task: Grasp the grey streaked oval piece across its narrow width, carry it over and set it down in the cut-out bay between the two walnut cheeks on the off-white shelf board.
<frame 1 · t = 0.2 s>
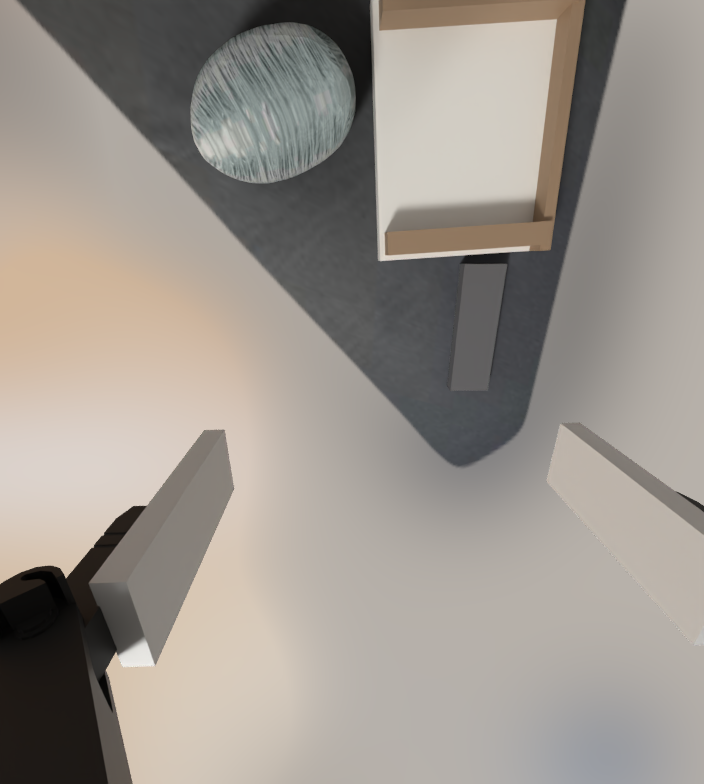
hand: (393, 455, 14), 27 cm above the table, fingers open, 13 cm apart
shelf bay: (458, 142, 33), on the table
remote: (470, 327, 40), on the table
grey streaked oval piece: (282, 129, 32), on the table
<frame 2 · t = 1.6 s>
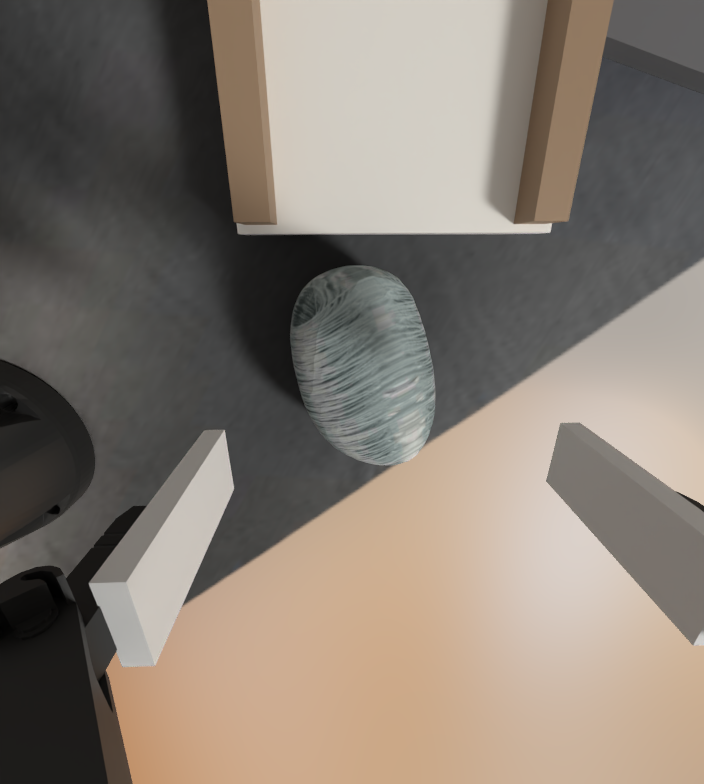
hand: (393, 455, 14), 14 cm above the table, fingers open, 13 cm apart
shelf bay: (396, 89, 21), on the table
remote: (692, 43, 21), on the table
grey streaked oval piece: (362, 352, 27), on the table
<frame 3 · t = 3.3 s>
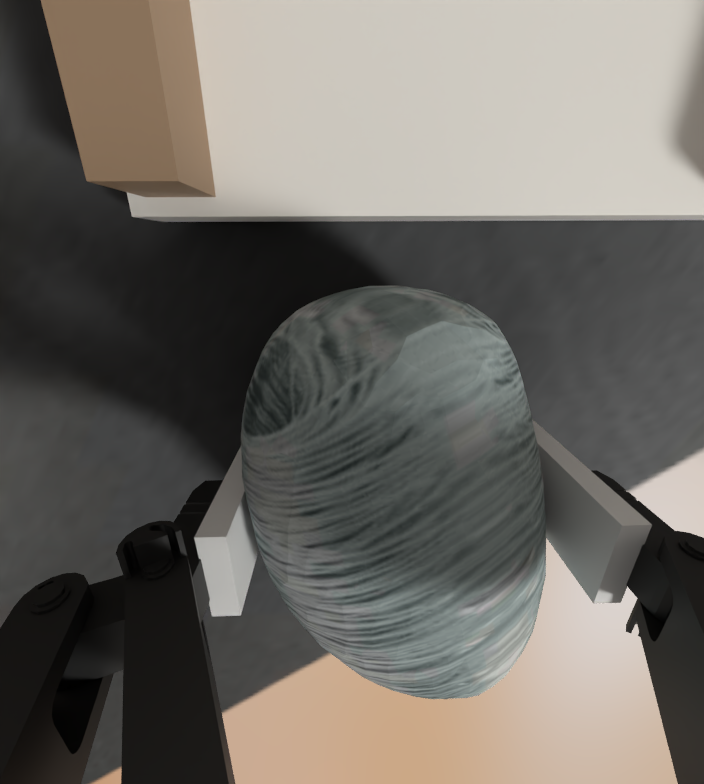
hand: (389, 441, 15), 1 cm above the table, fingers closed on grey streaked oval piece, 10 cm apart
grey streaked oval piece: (386, 431, 16), on the table, touching gripper
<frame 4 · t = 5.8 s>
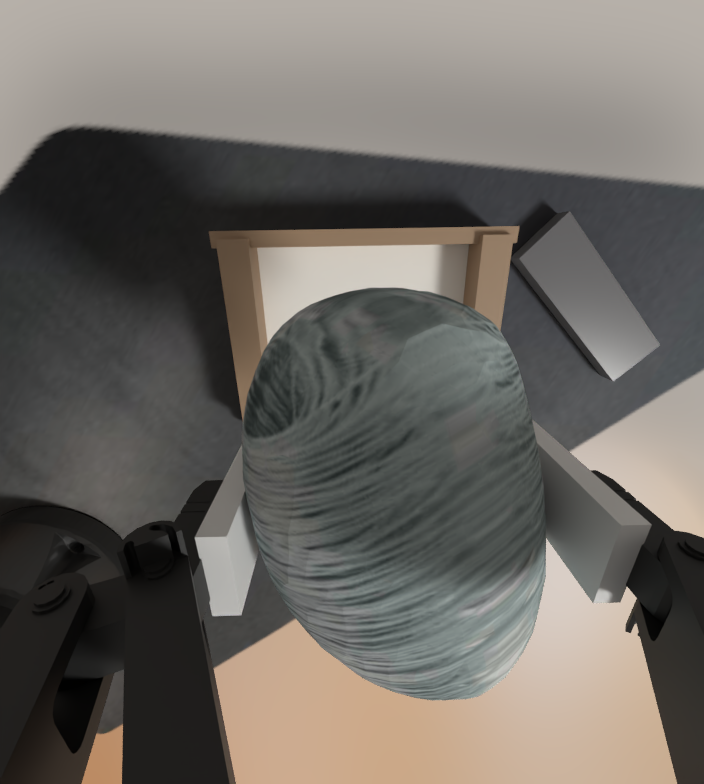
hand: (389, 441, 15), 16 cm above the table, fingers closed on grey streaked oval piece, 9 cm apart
shelf bay: (362, 337, 29), on the table
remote: (577, 300, 29), on the table
grey streaked oval piece: (386, 432, 16), point 15 cm above the table, touching gripper
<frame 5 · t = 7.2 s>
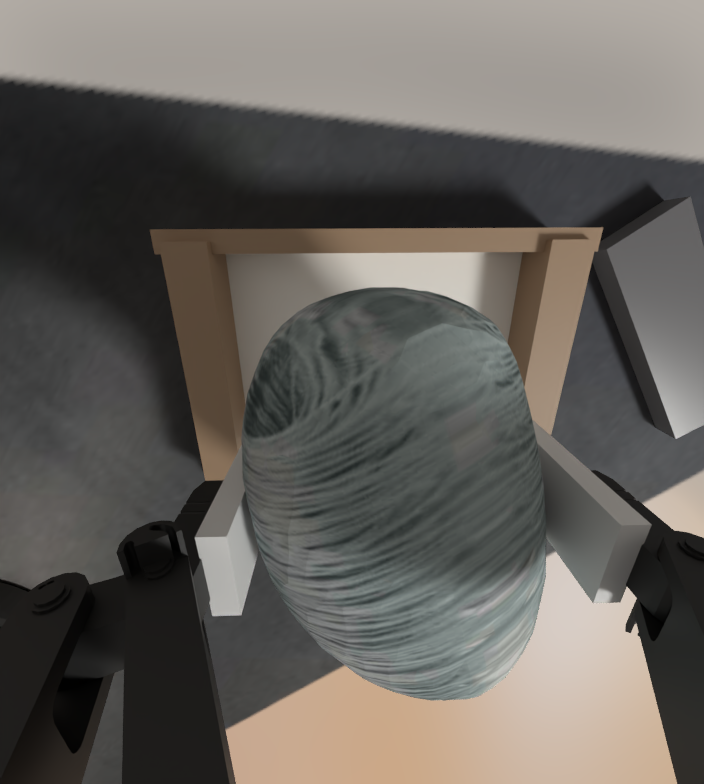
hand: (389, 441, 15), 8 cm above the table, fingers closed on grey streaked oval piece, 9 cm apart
shelf bay: (370, 371, 22), on the table
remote: (653, 326, 22), on the table
grey streaked oval piece: (386, 432, 16), point 7 cm above the table, touching gripper
when the fingers open (6 cm above the table, at t = 8.2 s): grey streaked oval piece drops 3 cm, resting on shelf bay.
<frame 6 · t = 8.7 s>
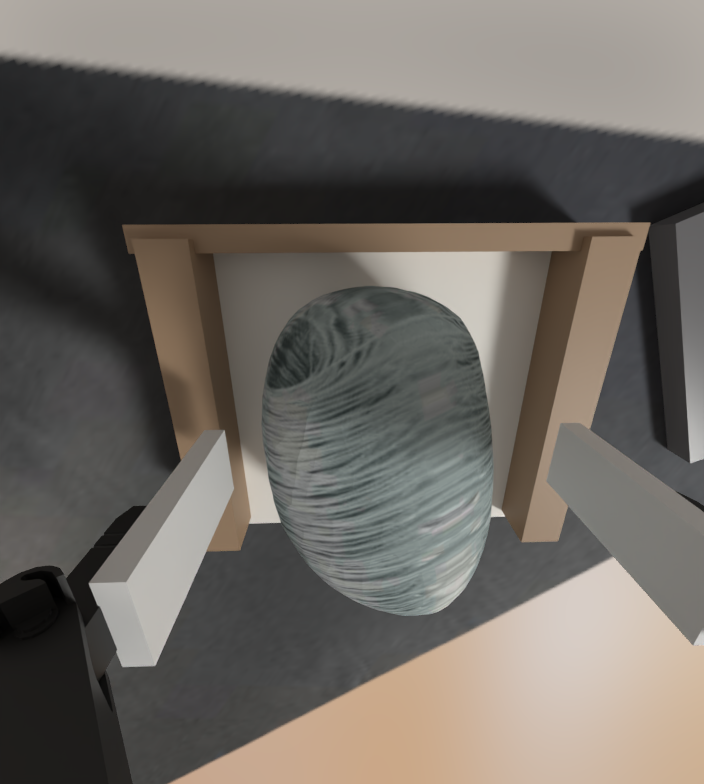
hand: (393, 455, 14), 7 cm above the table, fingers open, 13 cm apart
shelf bay: (376, 384, 20), on the table
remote: (691, 334, 20), on the table
grey streaked oval piece: (374, 410, 18), point 2 cm above the table, touching shelf bay
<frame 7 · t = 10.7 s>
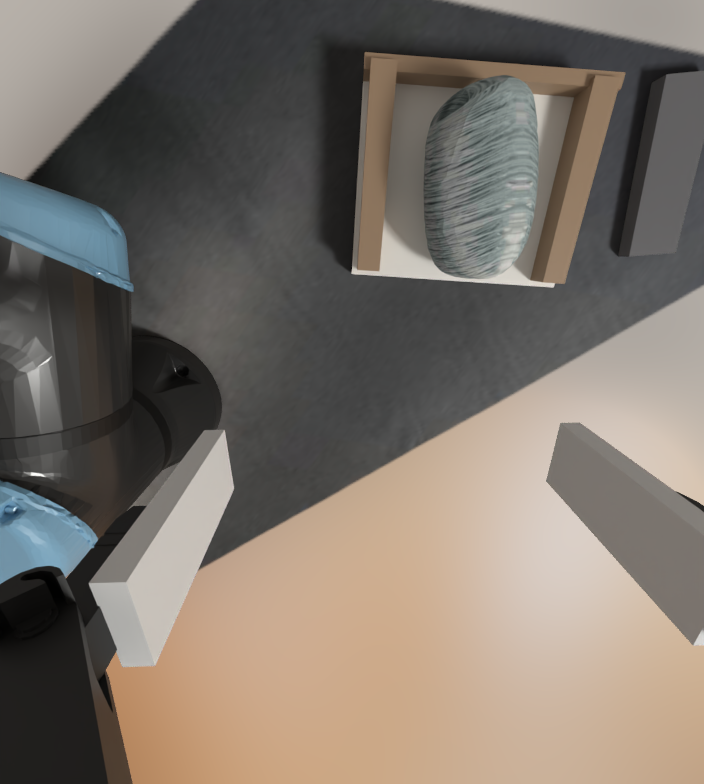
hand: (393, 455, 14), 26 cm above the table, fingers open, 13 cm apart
shelf bay: (461, 191, 33), on the table
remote: (653, 175, 33), on the table
grey streaked oval piece: (462, 198, 32), point 2 cm above the table, touching shelf bay
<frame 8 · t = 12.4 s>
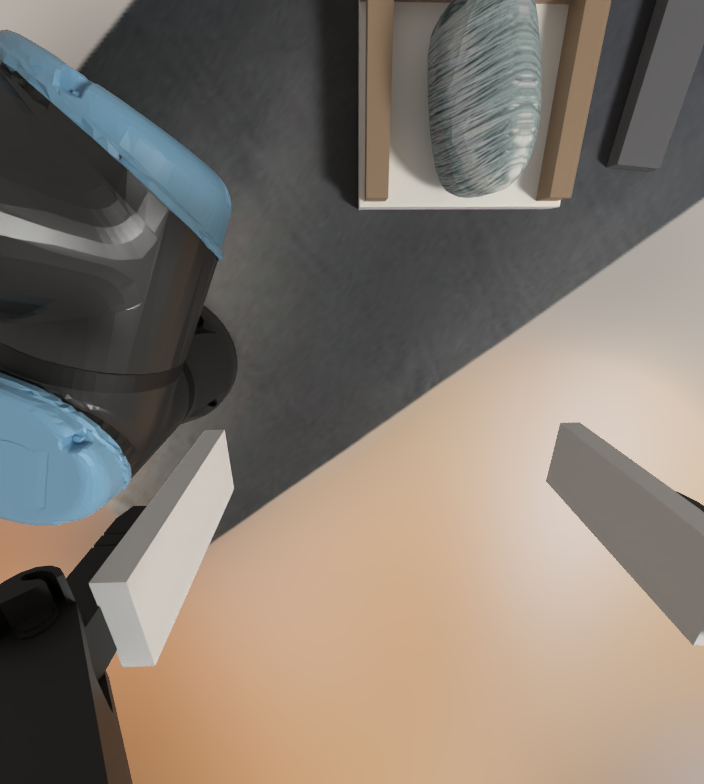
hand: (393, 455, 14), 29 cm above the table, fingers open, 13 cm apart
shelf bay: (462, 115, 33), on the table
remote: (650, 85, 33), on the table
grey streaked oval piece: (465, 119, 32), point 2 cm above the table, touching shelf bay
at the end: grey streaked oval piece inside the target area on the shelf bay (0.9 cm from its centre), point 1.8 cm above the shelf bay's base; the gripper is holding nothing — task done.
